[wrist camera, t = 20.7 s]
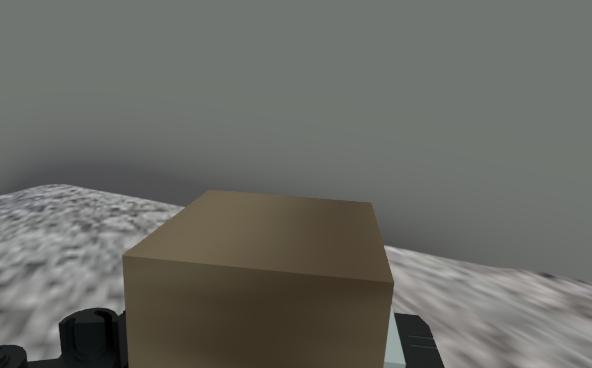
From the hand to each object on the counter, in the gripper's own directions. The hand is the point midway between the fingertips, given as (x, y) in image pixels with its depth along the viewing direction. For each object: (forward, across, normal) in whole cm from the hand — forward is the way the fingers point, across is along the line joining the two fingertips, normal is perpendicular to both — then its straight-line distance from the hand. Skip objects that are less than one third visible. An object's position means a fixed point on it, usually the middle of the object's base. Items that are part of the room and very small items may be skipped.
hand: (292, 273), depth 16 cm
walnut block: (-5, 0, -6) cm, 8 cm away
